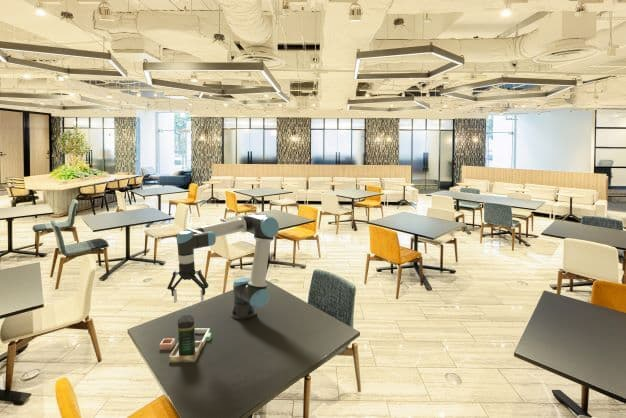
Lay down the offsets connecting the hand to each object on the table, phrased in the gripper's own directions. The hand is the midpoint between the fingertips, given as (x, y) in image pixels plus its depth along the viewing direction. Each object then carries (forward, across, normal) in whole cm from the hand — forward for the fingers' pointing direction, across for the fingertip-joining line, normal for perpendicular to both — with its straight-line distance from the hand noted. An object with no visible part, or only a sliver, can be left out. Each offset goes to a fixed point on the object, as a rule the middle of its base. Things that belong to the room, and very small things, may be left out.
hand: (189, 301), depth 191 cm
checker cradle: (+25, 0, -6) cm, 25 cm away
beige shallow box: (+24, 0, +9) cm, 26 cm away
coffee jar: (+24, 0, +9) cm, 25 cm away
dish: (+24, +12, +1) cm, 27 cm away
